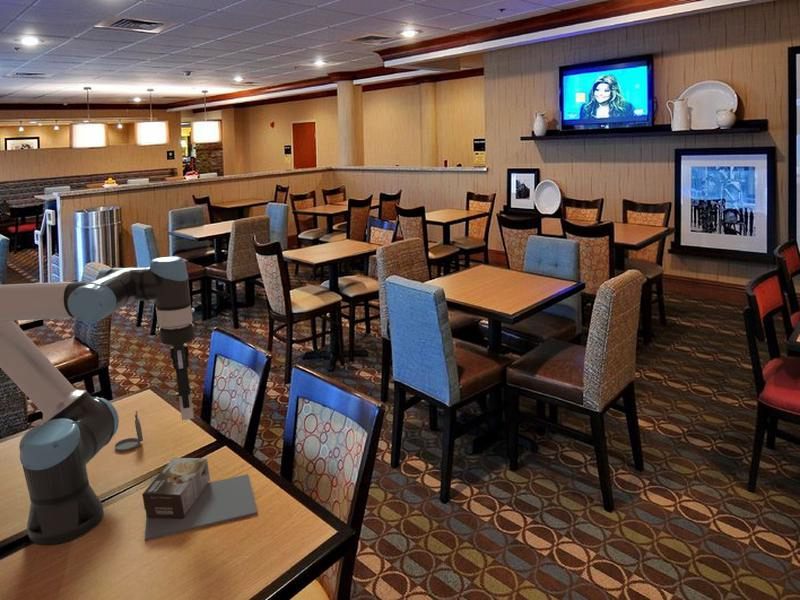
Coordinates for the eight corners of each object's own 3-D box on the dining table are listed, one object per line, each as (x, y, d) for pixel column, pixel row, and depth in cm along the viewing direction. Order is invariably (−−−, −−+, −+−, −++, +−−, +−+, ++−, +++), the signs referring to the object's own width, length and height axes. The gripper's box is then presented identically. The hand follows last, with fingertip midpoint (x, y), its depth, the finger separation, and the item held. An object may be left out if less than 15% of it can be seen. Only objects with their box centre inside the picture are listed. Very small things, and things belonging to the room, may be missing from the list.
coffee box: (176, 479, 152) (144, 518, 137) (172, 457, 150) (140, 493, 135) (211, 480, 151) (183, 519, 136) (208, 457, 150) (179, 494, 134)
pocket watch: (110, 449, 170) (104, 417, 167) (134, 436, 177) (129, 405, 175) (129, 455, 166) (123, 422, 164) (154, 441, 173) (149, 410, 171)
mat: (145, 541, 130) (144, 538, 130) (147, 498, 146) (147, 495, 145) (257, 514, 138) (257, 511, 138) (248, 476, 154) (248, 474, 153)
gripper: (194, 330, 133) (205, 426, 140) (192, 315, 145) (202, 404, 151) (158, 334, 131) (171, 432, 137) (158, 318, 143) (171, 409, 149)
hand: (187, 417), depth 144 cm, fingers closed
